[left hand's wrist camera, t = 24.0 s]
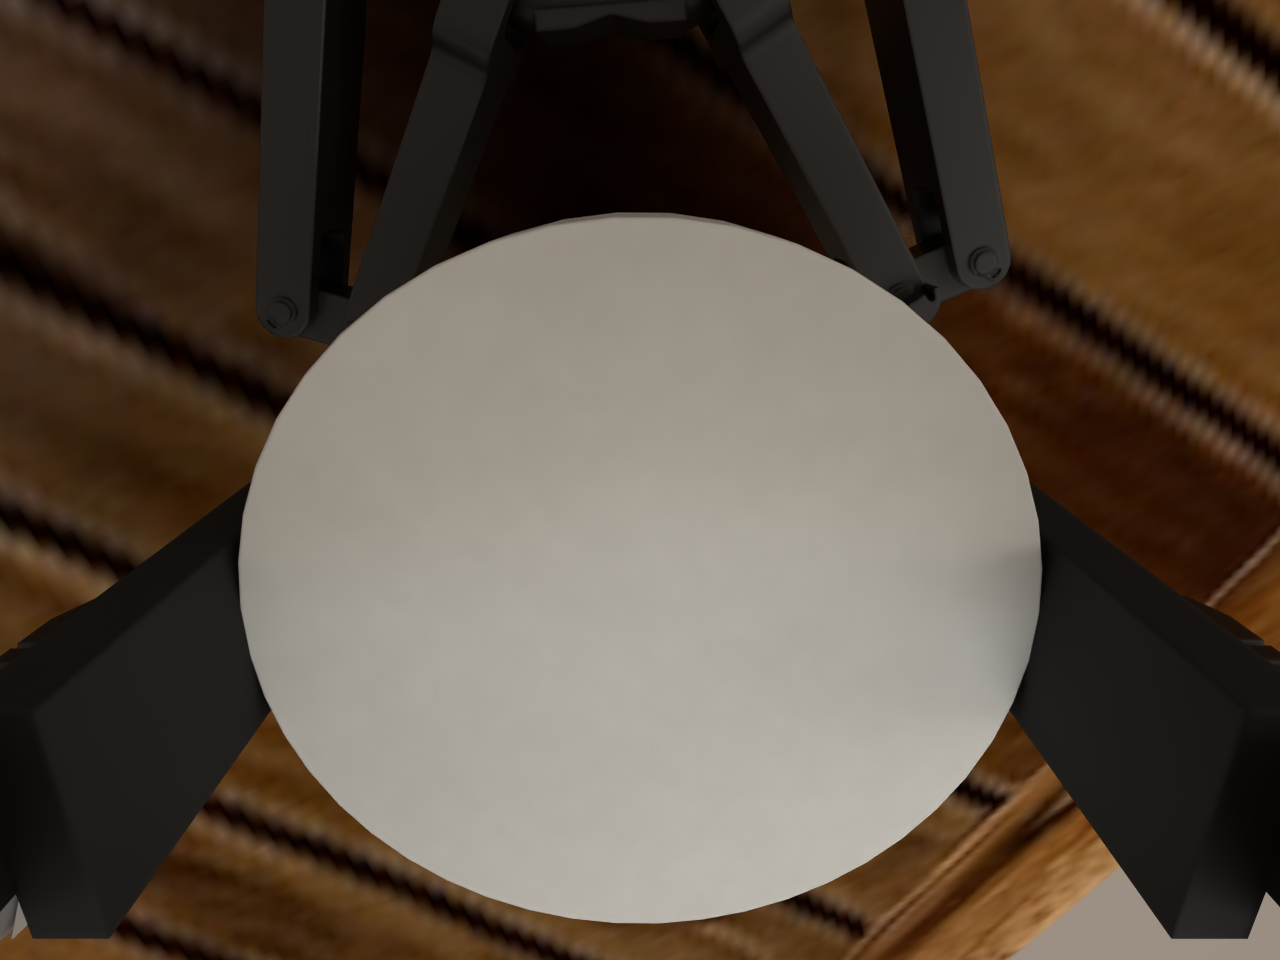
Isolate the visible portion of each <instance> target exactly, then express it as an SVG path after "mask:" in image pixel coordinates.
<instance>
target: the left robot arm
mask: <svg viewBox="0 0 1280 960" xmlns="http://www.w3.org/2000/svg"><path fill="white" fill-rule="evenodd" d="M251 482H252V481H251ZM251 482H250V483H249V484H247V485H246V486H245V487H243V488H242V489H241V490H239V491H238V492H237V493H235V494H234V495H233V496H231V497H230V498H229V499H227V500H226V501H225V502H223V503H222V504H221V505H219V506H218V507H217V508H215V509H214V510H213V511H211V512H210V513H209V514H207V515H206V516H205V517H203V518H202V519H201V520H199V521H198V522H197V523H195V524H194V525H193V526H191V527H190V528H189V529H187V530H186V531H185V532H183V533H182V534H181V535H179V536H178V537H177V538H175V539H174V540H173V541H171V542H170V543H169V544H167V545H166V546H165V547H163V548H162V549H161V550H159V551H158V552H157V553H155V554H154V555H153V556H151V557H150V558H149V559H147V560H146V561H145V562H143V563H142V564H141V565H139V566H138V567H137V568H135V569H134V570H133V571H131V572H130V573H129V574H127V575H126V576H125V577H123V578H122V579H121V580H119V581H118V582H117V583H115V584H114V585H113V586H111V587H110V588H109V589H107V590H106V591H105V592H103V593H102V594H101V595H99V596H98V597H97V598H95V599H93V600H91V601H89V602H87V603H85V604H83V605H80V606H78V607H76V608H74V609H72V610H70V611H68V612H66V613H63V614H61V615H59V616H57V617H55V618H53V619H51V620H49V621H48V622H47V623H45V624H44V625H42V626H41V627H40V628H38V629H37V630H36V631H34V632H33V633H32V634H30V635H29V636H27V637H26V638H25V639H23V640H22V641H21V642H19V643H18V647H17V649H10V650H8V651H7V652H5V653H4V654H3V655H1V656H0V940H2V939H3V938H4V937H5V936H6V935H8V934H9V933H11V932H12V931H13V935H12V939H13V938H14V937H15V936H16V935H17V934H18V933H19V932H20V931H21V930H22V929H24V928H25V927H26V926H27V925H28V927H29V930H30V932H31V935H32V937H33V939H109V938H110V936H111V935H112V934H113V932H114V931H115V929H116V928H117V927H118V925H119V924H120V922H121V921H122V920H123V918H124V917H125V915H126V914H127V912H128V911H129V910H130V908H131V907H132V905H133V904H134V903H135V901H136V900H137V898H138V897H139V896H140V894H141V893H142V891H143V890H144V889H145V887H146V886H147V884H148V883H149V881H150V880H151V879H152V877H153V876H154V874H155V873H156V872H157V870H158V869H159V867H160V866H161V865H162V863H163V862H164V860H165V859H166V857H167V856H168V855H169V853H170V852H171V850H172V849H173V848H174V846H175V845H176V843H177V842H178V841H179V839H180V838H181V836H182V835H183V833H184V832H185V831H186V829H187V828H188V826H189V825H190V824H191V822H192V821H193V819H194V818H195V817H196V815H197V814H198V812H199V811H200V809H201V808H202V807H203V805H204V804H205V802H206V801H207V800H208V798H209V797H210V795H211V794H212V793H213V791H214V790H215V788H216V787H217V785H218V784H219V783H220V781H221V780H222V778H223V777H224V776H225V774H226V773H227V771H228V770H229V769H230V767H231V766H232V764H233V763H234V761H235V760H236V759H237V757H238V756H239V754H240V753H241V752H242V750H243V749H244V747H245V746H246V745H247V743H248V742H249V740H250V739H251V738H252V736H253V735H254V733H255V732H256V730H257V729H258V728H259V726H260V725H261V723H262V722H263V721H264V719H265V718H266V716H267V715H268V714H269V712H270V711H271V708H270V706H269V704H268V702H267V700H266V698H265V696H264V694H263V691H262V688H261V685H260V682H259V679H258V677H257V674H256V671H255V668H254V665H253V663H252V659H251V655H250V651H249V646H248V641H247V637H246V632H245V627H244V622H243V617H242V613H241V607H240V591H239V571H238V558H239V549H240V539H241V529H242V519H243V512H244V508H245V505H246V501H247V497H248V493H249V489H250V486H251ZM1029 483H1030V488H1031V492H1032V496H1033V500H1034V504H1035V509H1036V513H1037V517H1038V522H1039V534H1040V546H1041V559H1042V581H1041V595H1040V609H1039V616H1038V621H1037V625H1036V630H1035V635H1034V639H1033V644H1032V649H1031V653H1030V658H1029V662H1028V664H1027V667H1026V670H1025V672H1024V675H1023V678H1022V680H1021V683H1020V686H1019V688H1018V691H1017V694H1016V696H1015V699H1014V702H1013V704H1012V705H1011V707H1010V709H1009V710H1010V711H1011V713H1012V714H1013V716H1014V717H1015V719H1016V720H1017V721H1018V723H1019V724H1020V726H1021V727H1022V728H1023V730H1024V731H1025V733H1026V734H1027V735H1028V737H1029V738H1030V740H1031V741H1032V742H1033V744H1034V745H1035V747H1036V748H1037V750H1038V751H1039V752H1040V754H1041V755H1042V757H1043V758H1044V759H1045V761H1046V762H1047V764H1048V765H1049V766H1050V768H1051V769H1052V771H1053V772H1054V774H1055V775H1056V776H1057V778H1058V779H1059V781H1060V782H1061V783H1062V785H1063V786H1064V788H1065V789H1066V790H1067V792H1068V793H1069V795H1070V796H1071V798H1072V799H1073V800H1074V802H1075V803H1076V805H1077V806H1078V807H1079V809H1080V810H1081V812H1082V813H1083V814H1084V816H1085V817H1086V819H1087V820H1088V822H1089V823H1090V824H1091V826H1092V827H1093V829H1094V830H1095V831H1096V833H1097V834H1098V836H1099V837H1100V838H1101V840H1102V841H1103V843H1104V844H1105V845H1106V847H1107V848H1108V850H1109V851H1110V853H1111V854H1112V855H1113V857H1114V858H1115V860H1116V861H1117V862H1118V864H1119V865H1120V867H1121V868H1122V869H1123V871H1124V872H1125V874H1126V875H1127V877H1128V878H1129V879H1130V881H1131V882H1132V884H1133V885H1134V886H1135V888H1136V889H1137V891H1138V892H1139V893H1140V895H1141V896H1142V898H1143V899H1144V900H1145V902H1146V903H1147V905H1148V906H1149V908H1150V909H1151V910H1152V912H1153V913H1154V915H1155V916H1156V917H1157V919H1158V920H1159V922H1160V923H1161V924H1162V926H1163V927H1164V929H1165V930H1166V931H1167V933H1168V934H1169V936H1170V937H1171V938H1172V939H1248V937H1249V934H1250V931H1251V929H1252V926H1253V923H1254V921H1255V919H1256V916H1257V913H1258V911H1259V908H1260V906H1261V903H1262V900H1263V898H1264V895H1265V893H1266V892H1267V893H1268V894H1269V895H1270V896H1271V898H1272V899H1273V900H1274V901H1275V902H1276V903H1277V904H1278V905H1279V907H1280V652H1279V651H1278V650H1276V649H1275V648H1273V647H1272V646H1265V645H1264V640H1262V639H1261V638H1260V637H1258V636H1257V635H1255V634H1254V633H1253V632H1251V631H1250V630H1249V629H1247V628H1246V627H1244V626H1243V625H1242V624H1240V623H1239V622H1237V621H1236V620H1235V619H1233V618H1232V617H1230V616H1228V615H1226V614H1224V613H1222V612H1220V611H1218V610H1215V609H1213V608H1211V607H1209V606H1207V605H1205V604H1203V603H1200V602H1198V601H1196V600H1194V599H1192V598H1190V597H1188V596H1181V595H1180V594H1178V593H1177V592H1176V591H1174V590H1173V589H1172V588H1170V587H1169V586H1168V585H1166V584H1165V583H1164V582H1162V581H1161V580H1160V579H1158V578H1157V577H1156V576H1154V575H1153V574H1152V573H1150V572H1149V571H1148V570H1147V569H1145V568H1144V567H1143V566H1141V565H1140V564H1139V563H1137V562H1136V561H1135V560H1133V559H1132V558H1131V557H1129V556H1128V555H1127V554H1125V553H1124V552H1123V551H1121V550H1120V549H1119V548H1117V547H1116V546H1115V545H1113V544H1112V543H1111V542H1109V541H1108V540H1107V539H1105V538H1104V537H1103V536H1101V535H1100V534H1099V533H1097V532H1096V531H1095V530H1093V529H1092V528H1091V527H1089V526H1088V525H1087V524H1085V523H1084V522H1083V521H1081V520H1080V519H1079V518H1077V517H1076V516H1075V515H1073V514H1072V513H1071V512H1069V511H1068V510H1067V509H1065V508H1064V507H1063V506H1061V505H1060V504H1059V503H1057V502H1056V501H1055V500H1053V499H1052V498H1051V497H1049V496H1048V495H1047V494H1045V493H1044V492H1043V491H1041V490H1040V489H1039V488H1037V487H1036V486H1035V485H1033V484H1032V483H1031V482H1029Z"/></svg>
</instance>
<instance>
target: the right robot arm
mask: <svg viewBox="0 0 1280 960" xmlns="http://www.w3.org/2000/svg"><path fill="white" fill-rule="evenodd" d="M865 5H866V10H867V14H868V19H869V24H870V28H871V33H872V38H873V42H874V47H875V52H876V56H877V61H878V66H879V70H880V75H881V80H882V84H883V89H884V94H885V98H886V103H887V107H888V112H889V117H890V121H891V126H892V131H893V135H894V140H895V145H896V149H897V154H898V159H899V163H900V168H901V173H902V177H903V182H904V187H905V191H906V196H907V201H908V205H909V210H910V214H911V219H912V224H913V228H914V233H915V238H916V242H917V245H915V246H913V247H910V248H908V246H907V244H906V242H905V240H904V238H903V236H902V234H901V232H900V230H899V229H898V227H897V225H896V223H895V221H894V219H893V217H892V215H891V213H890V211H889V209H888V207H887V205H886V203H885V201H884V199H883V197H882V195H881V193H880V191H879V189H878V187H877V185H876V183H875V181H874V179H873V177H872V175H871V173H870V171H869V169H868V167H867V166H866V164H865V162H864V160H863V158H862V156H861V154H860V152H859V150H858V148H857V146H856V144H855V142H854V140H853V138H852V136H851V134H850V132H849V130H848V128H847V126H846V124H845V122H844V120H843V118H842V116H841V114H840V112H839V110H838V108H837V106H836V104H835V103H834V101H833V99H832V97H831V95H830V93H829V91H828V89H827V87H826V85H825V83H824V81H823V79H822V77H821V75H820V73H819V71H818V69H817V67H816V65H815V63H814V61H813V59H812V57H811V55H810V53H809V51H808V49H807V47H806V45H805V43H804V41H803V40H802V38H801V36H800V34H799V32H798V30H797V27H796V25H795V23H794V20H793V16H792V10H791V5H790V2H789V0H441V1H440V4H439V7H438V10H437V13H436V16H435V20H434V23H433V29H432V49H431V54H430V58H429V61H428V64H427V67H426V70H425V73H424V76H423V79H422V82H421V85H420V88H419V91H418V94H417V97H416V100H415V103H414V106H413V109H412V112H411V115H410V118H409V121H408V124H407V127H406V130H405V133H404V136H403V139H402V142H401V145H400V148H399V151H398V154H397V157H396V160H395V163H394V166H393V169H392V172H391V175H390V178H389V181H388V184H387V187H386V190H385V193H384V196H383V199H382V202H381V205H380V208H379V211H378V214H377V217H376V220H375V223H374V226H373V229H372V232H371V235H370V238H369V241H368V244H367V247H366V250H365V253H364V256H363V259H362V262H361V265H360V268H359V271H358V274H357V277H356V280H355V283H354V286H353V287H352V286H348V276H349V261H350V246H351V232H352V217H353V203H354V188H355V173H356V159H357V144H358V130H359V115H360V100H361V86H362V71H363V56H364V42H365V27H366V0H264V25H263V62H262V99H261V136H260V173H259V209H258V246H257V283H256V310H257V316H258V318H259V320H260V322H261V324H262V325H263V327H264V328H266V329H267V330H268V331H269V332H270V333H271V334H274V335H276V336H279V337H281V338H292V337H295V336H300V337H304V338H307V339H311V340H315V341H318V342H322V343H325V344H329V345H331V344H332V343H333V342H334V340H335V339H336V338H337V337H338V336H339V335H340V334H341V333H342V332H343V331H344V330H345V329H346V328H348V327H349V326H350V325H351V324H352V323H354V322H355V321H356V320H357V319H358V318H359V317H361V316H362V315H363V314H364V313H365V312H367V311H368V310H369V309H370V308H371V307H373V306H374V305H375V304H376V303H377V302H378V301H380V300H381V299H382V298H383V297H384V296H386V295H388V294H389V293H391V292H392V291H394V290H396V289H397V288H399V287H401V286H402V285H404V284H405V283H407V282H409V281H410V280H412V279H413V278H415V277H417V276H418V275H420V274H422V273H423V272H425V271H426V270H428V269H430V268H431V267H433V266H435V265H437V264H439V263H441V262H444V259H445V256H446V253H447V251H448V248H449V245H450V243H451V240H452V237H453V234H454V232H455V229H456V226H457V224H458V221H459V218H460V215H461V213H462V210H463V207H464V205H465V202H466V199H467V196H468V194H469V191H470V188H471V186H472V183H473V180H474V177H475V175H476V172H477V169H478V167H479V164H480V161H481V158H482V156H483V153H484V150H485V148H486V145H487V142H488V140H489V137H490V134H491V131H492V129H493V126H494V123H495V121H496V118H497V115H498V112H499V110H500V107H501V104H502V102H503V99H504V96H505V94H506V92H507V90H508V89H509V87H510V86H511V85H512V83H513V81H514V79H515V77H516V75H517V72H518V70H519V67H520V65H521V62H522V59H523V56H524V54H525V51H526V48H527V46H528V43H529V40H530V39H532V40H535V41H539V42H543V43H544V44H545V46H546V47H547V48H559V47H571V46H581V45H583V44H586V43H588V42H591V41H594V40H596V39H599V38H601V37H604V36H606V35H609V34H612V33H618V34H622V35H626V36H631V37H635V38H640V39H644V40H661V39H674V38H682V35H683V32H684V31H687V30H689V29H692V28H693V27H695V26H697V25H699V27H700V29H701V31H702V33H703V35H704V36H705V38H706V40H707V42H708V44H709V46H710V47H711V49H712V51H713V53H714V55H715V56H716V58H717V60H718V61H719V63H720V64H721V66H722V67H723V68H724V69H725V71H726V72H727V73H728V74H729V76H730V77H731V79H732V81H733V82H734V84H735V86H736V88H737V90H738V92H739V93H740V95H741V97H742V99H743V101H744V103H745V104H746V106H747V108H748V110H749V112H750V114H751V115H752V117H753V119H754V121H755V123H756V125H757V126H758V128H759V130H760V132H761V134H762V136H763V137H764V139H765V141H766V143H767V145H768V147H769V148H770V150H771V152H772V154H773V156H774V158H775V159H776V161H777V163H778V165H779V167H780V169H781V170H782V172H783V174H784V176H785V178H786V180H787V181H788V183H789V185H790V187H791V189H792V191H793V192H794V194H795V196H796V198H797V200H798V202H799V203H800V205H801V207H802V209H803V211H804V213H805V214H806V216H807V218H808V220H809V222H810V224H811V225H812V227H813V229H814V231H815V233H816V235H817V236H818V238H819V240H820V242H821V244H822V246H823V247H824V249H825V251H826V253H827V255H828V257H829V258H830V259H831V260H834V261H836V262H838V263H840V264H842V265H845V266H847V267H849V268H851V269H853V270H855V271H856V272H858V273H859V274H861V275H862V276H864V277H866V278H867V279H869V280H870V281H872V282H873V283H875V284H876V285H878V286H879V287H881V288H883V289H884V290H886V291H887V292H889V293H890V294H892V295H893V296H895V297H896V298H898V299H900V300H901V301H903V302H904V303H905V304H906V305H907V306H908V307H909V308H911V309H912V310H913V311H914V312H915V313H916V314H917V315H919V316H920V317H921V318H922V319H923V320H924V321H925V322H926V323H929V322H930V321H931V320H932V319H933V318H934V317H935V315H936V313H937V311H938V310H939V307H940V303H941V302H943V301H945V300H948V299H950V298H952V297H955V296H957V295H959V294H962V293H964V292H966V291H969V290H971V289H977V290H981V289H988V288H990V287H992V286H994V285H996V284H998V283H999V282H1000V281H1001V280H1002V279H1003V277H1004V276H1005V275H1006V274H1007V271H1008V269H1009V266H1010V263H1011V252H1010V246H1009V240H1008V235H1007V229H1006V223H1005V217H1004V212H1003V206H1002V200H1001V194H1000V189H999V183H998V177H997V171H996V166H995V160H994V154H993V148H992V143H991V137H990V131H989V125H988V120H987V114H986V108H985V102H984V97H983V91H982V85H981V79H980V74H979V68H978V62H977V56H976V51H975V45H974V39H973V33H972V28H971V22H970V16H969V10H968V5H967V0H865Z"/></svg>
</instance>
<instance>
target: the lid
mask: <svg viewBox="0 0 1280 960" xmlns="http://www.w3.org/2000/svg"><path fill="white" fill-rule="evenodd" d="M238 571H239V591H240V607H241V613H242V617H243V622H244V627H245V632H246V637H247V641H248V646H249V651H250V655H251V659H252V663H253V665H254V668H255V671H256V674H257V677H258V679H259V682H260V685H261V688H262V691H263V694H264V696H265V698H266V700H267V702H268V704H269V706H270V708H271V710H272V712H273V714H274V716H275V718H276V720H277V722H278V723H279V725H280V727H281V729H282V731H283V733H284V735H285V737H286V738H287V740H288V741H289V742H290V744H291V745H292V747H293V748H294V750H295V751H296V753H297V754H298V755H299V757H300V758H301V760H302V761H303V763H304V764H305V765H306V767H307V768H308V770H309V771H310V773H311V774H312V775H313V776H314V777H315V778H316V779H317V780H318V781H319V783H320V784H321V785H322V786H323V787H324V788H325V789H326V790H327V791H328V793H329V794H330V795H331V796H332V797H333V798H334V799H335V800H336V802H337V803H338V804H339V805H340V806H341V807H343V808H344V809H345V810H346V811H347V812H348V813H349V814H350V815H352V816H353V817H354V818H355V819H356V820H357V821H358V822H360V823H361V824H362V825H363V826H364V827H365V828H366V829H368V830H369V831H370V832H371V833H372V834H373V835H375V836H376V837H378V838H379V839H381V840H382V841H383V842H385V843H386V844H388V845H389V846H391V847H392V848H393V849H395V850H396V851H398V852H399V853H401V854H402V855H403V856H405V857H406V858H408V859H409V860H411V861H413V862H415V863H417V864H419V865H420V866H422V867H424V868H426V869H428V870H430V871H431V872H433V873H435V874H437V875H439V876H440V877H442V878H444V879H446V880H448V881H450V882H453V883H455V884H458V885H460V886H462V887H465V888H467V889H469V890H472V891H474V892H477V893H479V894H481V895H484V896H486V897H489V898H492V899H496V900H499V901H502V902H505V903H509V904H512V905H515V906H518V907H522V908H525V909H528V910H533V911H538V912H543V913H548V914H553V915H558V916H563V917H568V918H573V919H583V920H593V921H602V922H612V923H666V922H677V921H688V920H700V919H706V918H712V917H717V916H722V915H728V914H733V913H738V912H744V911H748V910H751V909H755V908H758V907H762V906H765V905H768V904H772V903H775V902H779V901H782V900H786V899H789V898H791V897H794V896H796V895H799V894H801V893H804V892H806V891H808V890H811V889H813V888H816V887H818V886H821V885H823V884H826V883H828V882H830V881H832V880H834V879H836V878H838V877H840V876H841V875H843V874H845V873H847V872H849V871H851V870H853V869H855V868H857V867H859V866H860V865H862V864H864V863H866V862H868V861H869V860H871V859H872V858H874V857H875V856H877V855H878V854H880V853H881V852H883V851H884V850H885V849H887V848H888V847H890V846H891V845H893V844H894V843H896V842H897V841H899V840H900V839H902V838H903V837H904V836H906V835H907V834H908V833H909V832H910V831H911V830H913V829H914V828H915V827H916V826H917V825H918V824H920V823H921V822H922V821H923V820H924V819H926V818H927V817H928V816H929V815H930V814H931V813H933V812H934V811H935V810H936V809H937V808H938V807H939V806H940V805H941V804H942V803H943V802H944V801H945V799H946V798H947V797H948V796H949V795H950V794H951V793H952V792H953V791H954V790H955V789H956V788H957V787H958V785H959V784H960V783H961V782H962V781H963V780H964V779H965V778H966V777H967V775H968V774H969V773H970V771H971V770H972V768H973V767H974V766H975V764H976V763H977V762H978V760H979V759H980V757H981V756H982V755H983V753H984V752H985V750H986V749H987V748H988V746H989V745H990V744H991V742H992V741H993V739H994V737H995V735H996V733H997V731H998V729H999V728H1000V726H1001V724H1002V722H1003V720H1004V718H1005V717H1006V715H1007V713H1008V711H1009V709H1010V707H1011V705H1012V704H1013V702H1014V699H1015V696H1016V694H1017V691H1018V688H1019V686H1020V683H1021V680H1022V678H1023V675H1024V672H1025V670H1026V667H1027V664H1028V662H1029V658H1030V653H1031V649H1032V644H1033V639H1034V635H1035V630H1036V625H1037V621H1038V616H1039V609H1040V595H1041V581H1042V559H1041V546H1040V534H1039V522H1038V517H1037V513H1036V509H1035V504H1034V500H1033V496H1032V492H1031V488H1030V483H1029V479H1028V475H1027V472H1026V469H1025V467H1024V464H1023V462H1022V460H1021V457H1020V455H1019V452H1018V450H1017V447H1016V445H1015V443H1014V440H1013V438H1012V435H1011V433H1010V430H1009V428H1008V426H1007V424H1006V422H1005V421H1004V419H1003V417H1002V416H1001V414H1000V412H999V411H998V409H997V407H996V406H995V404H994V403H993V401H992V399H991V398H990V396H989V394H988V393H987V391H986V389H985V388H984V386H983V384H982V383H981V381H980V380H979V379H978V377H977V376H976V375H975V374H974V373H973V372H972V370H971V369H970V368H969V367H968V366H967V364H966V363H965V362H964V361H963V360H962V358H961V357H960V356H959V355H958V354H957V352H956V351H955V350H954V349H953V348H952V347H951V345H950V344H949V343H948V342H947V341H946V339H945V338H944V337H942V336H941V335H940V334H939V333H938V332H937V331H936V330H934V329H933V328H932V327H931V326H930V325H929V324H928V323H926V322H925V321H924V320H923V319H922V318H921V317H920V316H919V315H917V314H916V313H915V312H914V311H913V310H912V309H911V308H909V307H908V306H907V305H906V304H905V303H904V302H903V301H901V300H900V299H898V298H896V297H895V296H893V295H892V294H890V293H889V292H887V291H886V290H884V289H883V288H881V287H879V286H878V285H876V284H875V283H873V282H872V281H870V280H869V279H867V278H866V277H864V276H862V275H861V274H859V273H858V272H856V271H855V270H853V269H851V268H849V267H847V266H845V265H842V264H840V263H838V262H836V261H834V260H831V259H829V258H827V257H825V256H823V255H821V254H818V253H816V252H814V251H812V250H810V249H807V248H805V247H803V246H801V245H799V244H796V243H793V242H790V241H787V240H785V239H782V238H779V237H776V236H773V235H769V234H766V233H763V232H759V231H756V230H752V229H749V228H746V227H742V226H739V225H736V224H732V223H729V222H726V221H721V220H714V219H707V218H701V217H694V216H687V215H681V214H674V213H609V214H602V215H594V216H586V217H579V218H571V219H564V220H560V221H556V222H553V223H549V224H545V225H542V226H538V227H535V228H531V229H527V230H524V231H520V232H516V233H513V234H510V235H507V236H504V237H501V238H498V239H495V240H492V241H490V242H487V243H485V244H483V245H481V246H478V247H476V248H474V249H471V250H469V251H467V252H464V253H462V254H460V255H457V256H455V257H453V258H451V259H448V260H446V261H444V262H441V263H439V264H437V265H435V266H433V267H431V268H430V269H428V270H426V271H425V272H423V273H422V274H420V275H418V276H417V277H415V278H413V279H412V280H410V281H409V282H407V283H405V284H404V285H402V286H401V287H399V288H397V289H396V290H394V291H392V292H391V293H389V294H388V295H386V296H384V297H383V298H382V299H381V300H380V301H378V302H377V303H376V304H375V305H374V306H373V307H371V308H370V309H369V310H368V311H367V312H365V313H364V314H363V315H362V316H361V317H359V318H358V319H357V320H356V321H355V322H354V323H352V324H351V325H350V326H349V327H348V328H346V329H345V330H344V331H343V332H342V333H341V334H340V335H339V336H338V337H337V338H336V339H335V340H334V342H333V343H332V344H331V345H330V346H329V347H328V348H327V350H326V351H325V352H324V353H323V354H322V355H321V356H320V358H319V359H318V360H317V361H316V362H315V363H314V364H313V365H312V367H311V368H310V369H309V370H308V371H307V372H306V373H305V375H304V376H303V378H302V379H301V381H300V382H299V384H298V386H297V387H296V389H295V390H294V392H293V393H292V395H291V397H290V398H289V400H288V401H287V403H286V404H285V406H284V408H283V409H282V411H281V412H280V414H279V415H278V417H277V419H276V421H275V423H274V425H273V427H272V430H271V432H270V434H269V437H268V439H267V441H266V443H265V446H264V448H263V450H262V453H261V455H260V457H259V459H258V462H257V464H256V466H255V470H254V474H253V478H252V482H251V486H250V489H249V493H248V497H247V501H246V505H245V508H244V512H243V519H242V529H241V539H240V549H239V558H238Z"/></svg>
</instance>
